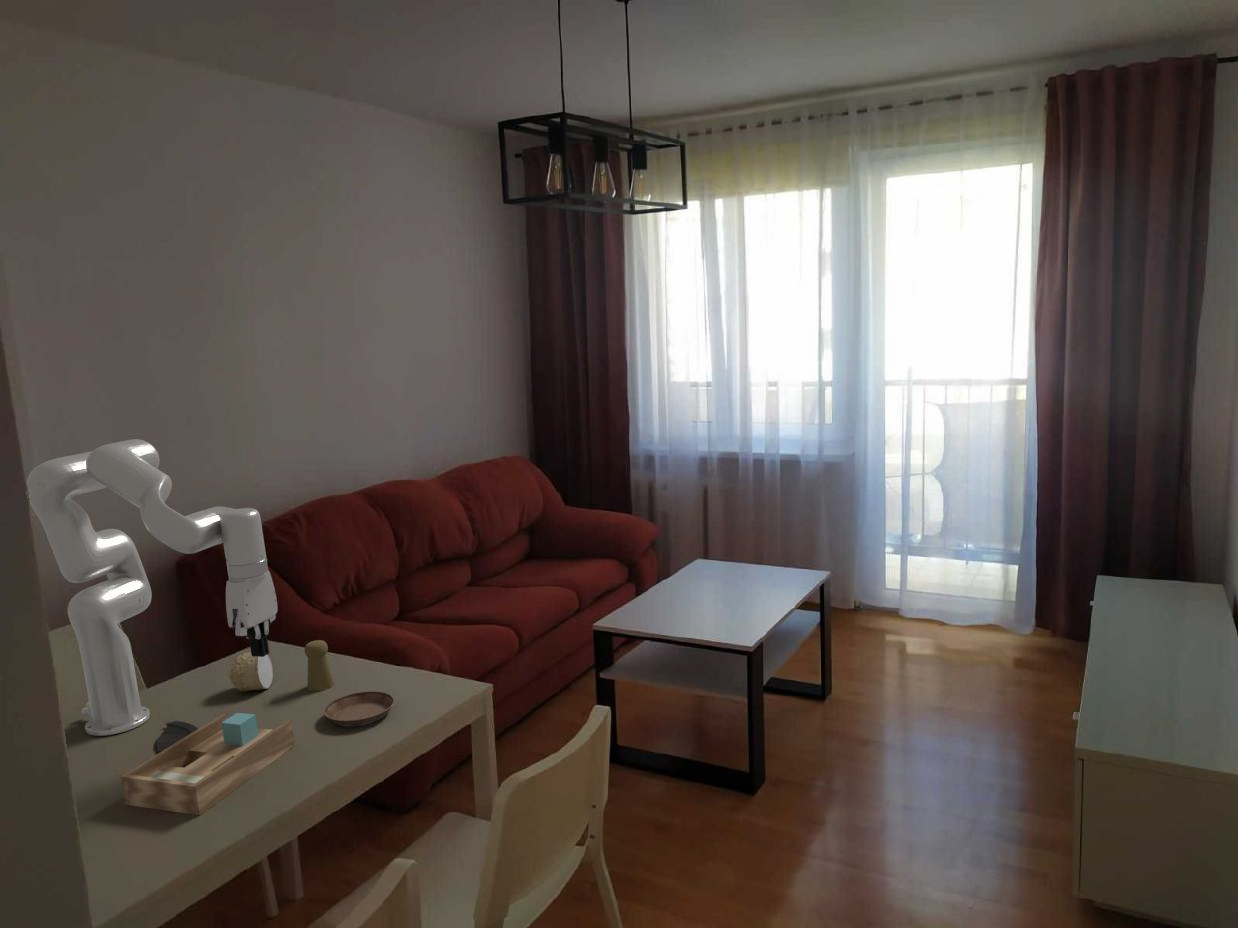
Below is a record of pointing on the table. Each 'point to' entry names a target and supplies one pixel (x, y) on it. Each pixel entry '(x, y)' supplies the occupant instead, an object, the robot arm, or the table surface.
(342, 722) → the saucer
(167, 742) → the fan shaped piece
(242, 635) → the robot arm
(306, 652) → the cork
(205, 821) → the table surface
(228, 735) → the teal block
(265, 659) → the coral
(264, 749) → the box
